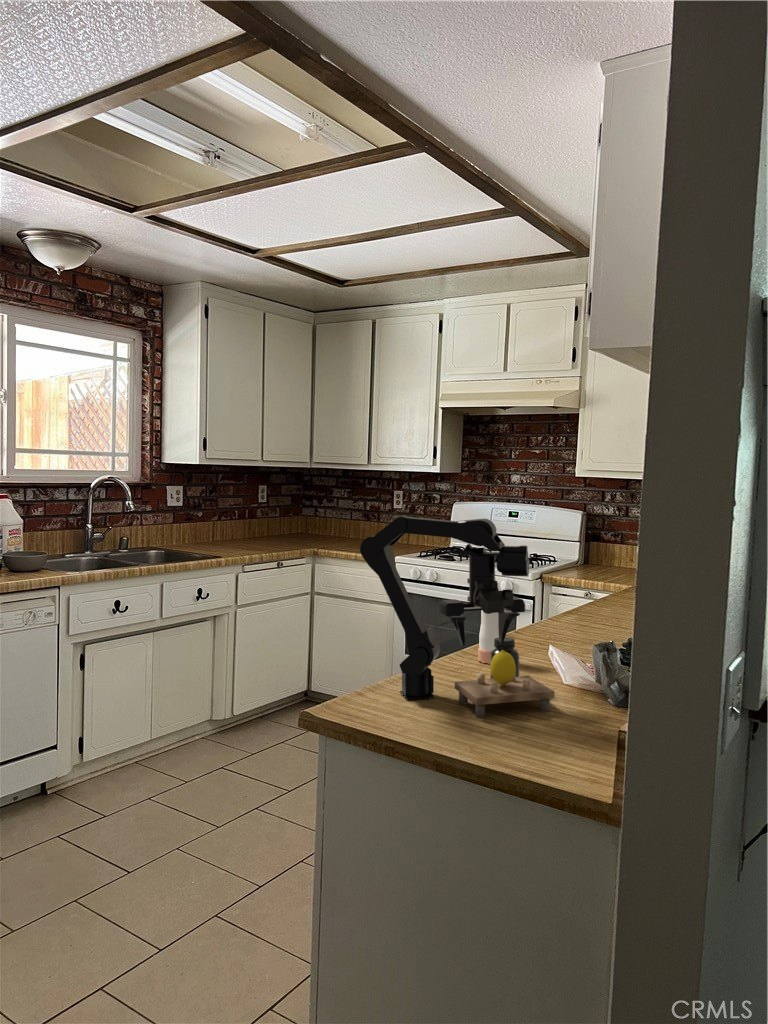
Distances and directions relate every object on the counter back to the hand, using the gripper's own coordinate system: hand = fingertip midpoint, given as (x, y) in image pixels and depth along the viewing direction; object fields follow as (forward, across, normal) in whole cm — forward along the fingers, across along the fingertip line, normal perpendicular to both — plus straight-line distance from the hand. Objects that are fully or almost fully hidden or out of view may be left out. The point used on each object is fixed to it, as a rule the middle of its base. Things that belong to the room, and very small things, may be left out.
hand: (482, 644), depth 173 cm
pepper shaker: (+13, +16, +33) cm, 39 cm away
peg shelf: (+13, +3, -5) cm, 14 cm away
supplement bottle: (+13, +9, +8) cm, 18 cm away
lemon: (+9, +3, -5) cm, 10 cm away
